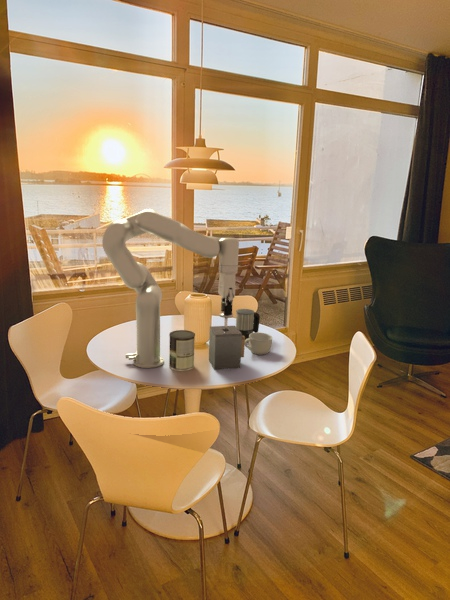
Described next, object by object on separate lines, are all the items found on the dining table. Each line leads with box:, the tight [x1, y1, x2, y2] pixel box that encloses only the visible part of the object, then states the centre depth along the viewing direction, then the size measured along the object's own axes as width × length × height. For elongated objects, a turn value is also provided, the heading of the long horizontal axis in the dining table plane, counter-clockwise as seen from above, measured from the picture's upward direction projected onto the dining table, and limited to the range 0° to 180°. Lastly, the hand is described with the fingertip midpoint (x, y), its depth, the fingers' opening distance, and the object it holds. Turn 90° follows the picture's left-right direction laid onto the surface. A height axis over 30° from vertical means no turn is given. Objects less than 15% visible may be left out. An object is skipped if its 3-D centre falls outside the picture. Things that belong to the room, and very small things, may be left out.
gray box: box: [208, 325, 245, 371], centre depth 180 cm, size 14×11×15 cm
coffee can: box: [168, 329, 196, 372], centre depth 176 cm, size 10×10×14 cm
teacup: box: [244, 331, 274, 356], centre depth 196 cm, size 14×11×8 cm
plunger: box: [219, 301, 234, 331], centre depth 178 cm, size 8×8×18 cm
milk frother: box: [235, 308, 261, 343], centre depth 215 cm, size 14×16×15 cm
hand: (226, 312), depth 176 cm, fingers closed on plunger, 4 cm apart
